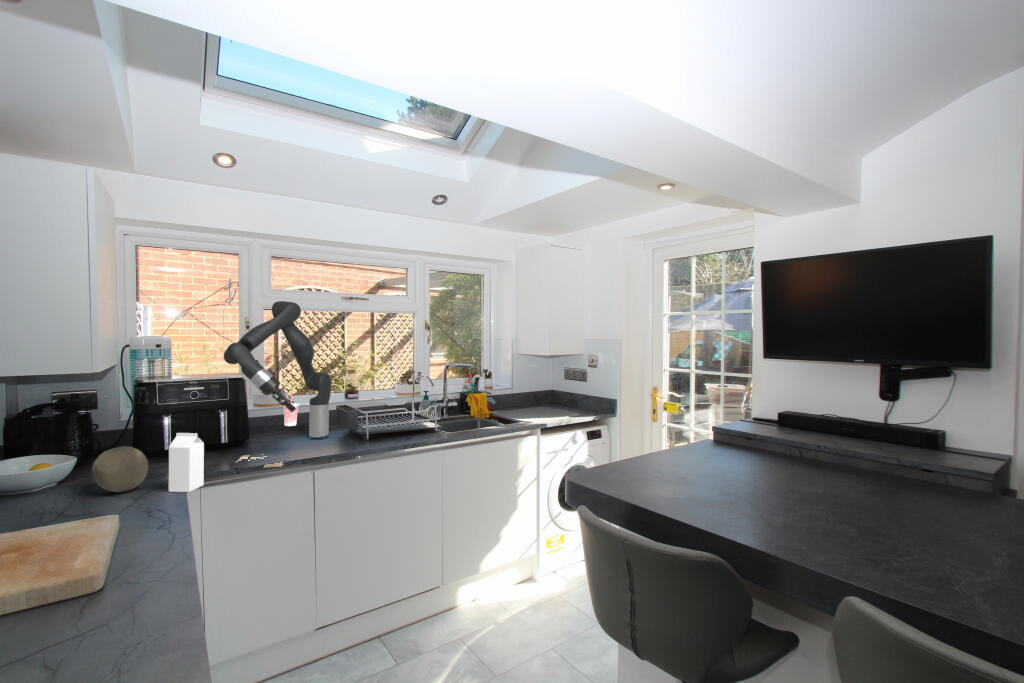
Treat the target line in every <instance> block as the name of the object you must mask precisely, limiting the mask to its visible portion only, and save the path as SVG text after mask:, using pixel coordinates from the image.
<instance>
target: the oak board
mask: <svg viewBox="0 0 1024 683" xmlns="http://www.w3.org/2000/svg"><path fill="white" fill-rule="evenodd" d="M250 455H251V454H249V455H248V454H246V455H245V454H244V455H242V456H240V457H239V459H238V460H237V461H236V462H238V461H241V460H242V459H248V457H249V456H250ZM263 457H267V456H263ZM263 457H262V458H261V457H251V458H250V459H252V460H253V459H254V460H256V458H258V459H259V458H260V459H264V458H263ZM250 459H249V460H248V461H250ZM283 466H284V464H283V462H280V463H274V464H266V465H264V467H263V468H277V467H278V468H279V467H280V468H281V467H283Z"/></svg>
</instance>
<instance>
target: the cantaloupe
mask: <svg viewBox="0 0 1024 683" xmlns="http://www.w3.org/2000/svg"><path fill="white" fill-rule="evenodd" d="M148 461H149V460H148V459H147V457H146V455H145V454H144V453H143V451H141V450H140V449H138V448H135V447H133V446H127V445H126V446H125V445H123V446H118V447H114V448H110V449H107V450H105V451H103V452H102V453H101V454H99V455H98V457H97V458H96V459H95V460H94V462H93V464H92V467H91V475H92V479H93V481H94V482H95V483H96V485H97V486H99V487H100V488H102V489H103V490H105V491H107V492H112V493H125V492H129V491H131V490H134V489H135V488H136V487H138V486H139V485H141V483H142V482H143V481H144V480H146V477H147V475H148V472H149V462H148Z"/></svg>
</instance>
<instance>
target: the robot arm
mask: <svg viewBox="0 0 1024 683" xmlns="http://www.w3.org/2000/svg"><path fill="white" fill-rule="evenodd" d="M301 313H302V309H301V307H300V305H299V304H298V303H297V302H292V301H284V300H278V301H275V302H274V303H273V304H272V306H271V314H272V316H273V318H271V319H269V320H267V321H265V322H262V323H260V324H258V325H256V326H254V327H252V328H251V329H250V330H249V331H247V332H246V333H245V334H244V335H242V336H241V338H240V339H239V340H238V341H237V342H232V343H230V344H229V346H227V347H226V349H225V351H224V353H223V360H224V362H225V363H226V364H227V363H228V364H230V365H237V364H238V366H239V367H240V369H241V373H242V374H243V375H244V376H245V377H246V378H247V379H248V380H250V381H251V383H252V384H253V385H254V386H255V387H256V388H257V389H258V390H259V391H260V392H261V393H263V394H264V395H265V396H269V395H270V394H272V396H271V397H272V399H274V400H276V402H277V403H279V404H280V406H283V407H284V406H286V407H287V408H288V409H289V410H290V411H291V412H293V411H294V410H295V409H296V408H295V407H294V406H293V405H292V404H291V395H289V394H288V393H287V392H285V391H284V389H282V388H279V386H280V385H281V382H280V381H279V379H278V378H276V377H275V376H274V375H273V374H272V373H271V372H270V371H269V370H267V369H266V368H264V366H262V364H260V363H259V362H258V361H257V360H256V359H255V357H254V355H253V354H252V352H253V351H254V350H255V349H257V348H258V347H259V346H260V345H261V344H263V343H264V342H265V341H266V340H267V339H268V338H270V337H271V336H273V335H274V334H276V333H278V332H279V331H282V333H283V335H284V338H285V339H286V341H287V343H288V345H289V348H290V350H291V352H292V354H293V356H294V358H295V360H296V362H297V364H298V367H299V368H300V372H301V374H302V376H303V380H304V382H305V385H306V387H307V389H309V390H310V391H317V395H316V396H314V397H311V398H310V399H309V416H308V418H309V419H308V420H309V423H308V424H309V425H308V426H309V427H308V430H309V431H308V435H309V436H311V437H320V436H326V435H328V434H329V435H330V433H329V430H330V429H329V428H330V426H329V425H330V424H329V423H330V420H329V419H330V418H329V417H330V399H331V390H332V388H331V387H332V379H331V378H332V377H331V375H330V374H329V373H327V372H316V371H315V369H314V366H313V359H314V356H315V350H314V347H313V345H312V342H311V340H310V338H308V336H307V335H306V334H305V333H304V332H303V331H302V330H301V329H300V328H299V327H298V326H297V325H296V324H295V321H297V320H298V319H299V318H300V316H301ZM292 403H295V402H294V401H293V400H292ZM309 436H308V437H309Z"/></svg>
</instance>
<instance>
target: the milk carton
mask: <svg viewBox="0 0 1024 683" xmlns="http://www.w3.org/2000/svg"><path fill="white" fill-rule="evenodd" d="M204 456H205V443H204V441H203V440H202V439H201V438H200V437H199V436H198V433H197V432H195V433H193V432H192V433H191V432H176V436H175V438H174V439H173V440H172V442H171V443H170V445H169V446H168V492H171V493H172V492H173V493H174V492H175V493H190V492H192V491H194V490H196V489H199V488H200V487H201V488H202V487H203V486H204V480H205V477H204V476H205V474H204V472H205V470H204V468H205V463H204V462H205V460H204V459H205V458H204Z"/></svg>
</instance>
